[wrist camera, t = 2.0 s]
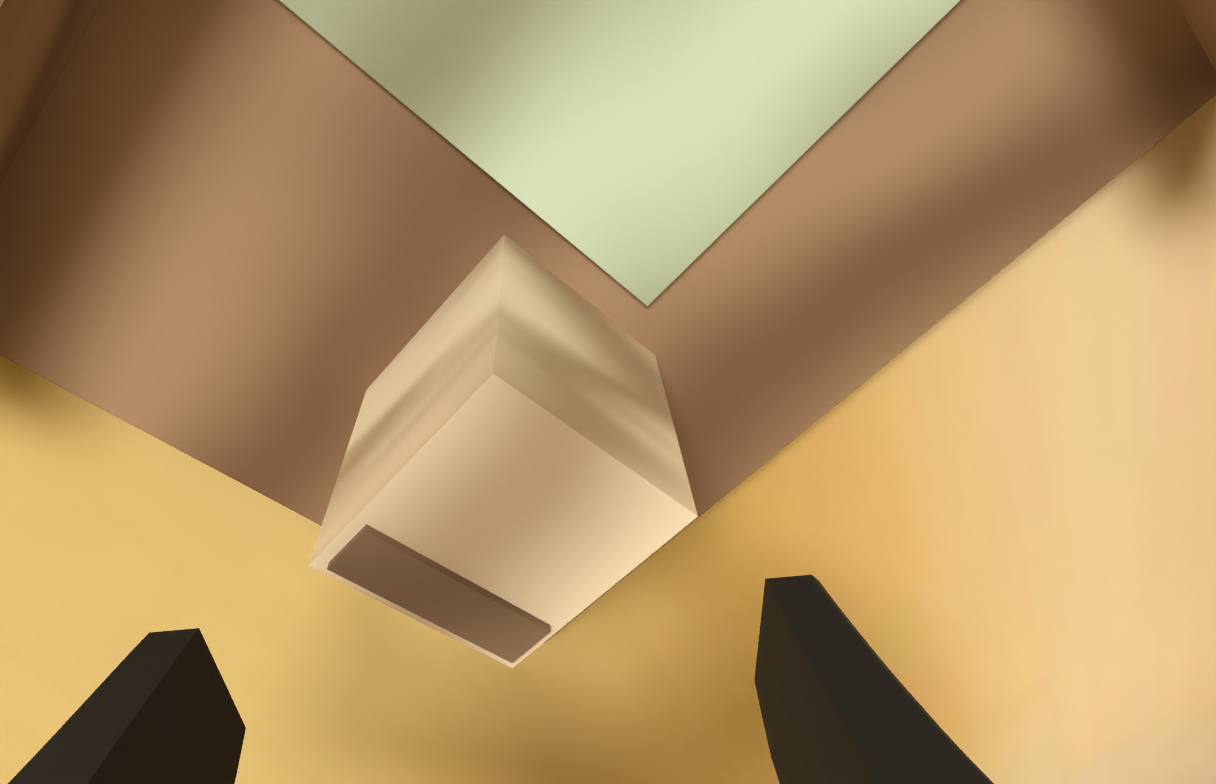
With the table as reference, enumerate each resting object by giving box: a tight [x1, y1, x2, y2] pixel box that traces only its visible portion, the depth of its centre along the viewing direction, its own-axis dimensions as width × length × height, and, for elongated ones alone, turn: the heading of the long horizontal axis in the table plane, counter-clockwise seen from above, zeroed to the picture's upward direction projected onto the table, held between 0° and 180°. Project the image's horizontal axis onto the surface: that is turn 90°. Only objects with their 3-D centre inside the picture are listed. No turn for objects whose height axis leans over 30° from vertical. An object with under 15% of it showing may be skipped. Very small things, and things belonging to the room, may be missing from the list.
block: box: [309, 235, 698, 668], centre depth 14 cm, size 4×4×5 cm
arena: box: [0, 0, 1216, 644], centre depth 13 cm, size 16×20×4 cm
